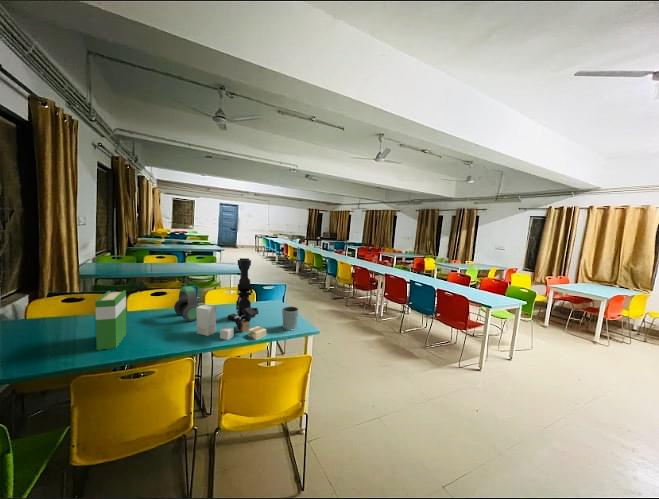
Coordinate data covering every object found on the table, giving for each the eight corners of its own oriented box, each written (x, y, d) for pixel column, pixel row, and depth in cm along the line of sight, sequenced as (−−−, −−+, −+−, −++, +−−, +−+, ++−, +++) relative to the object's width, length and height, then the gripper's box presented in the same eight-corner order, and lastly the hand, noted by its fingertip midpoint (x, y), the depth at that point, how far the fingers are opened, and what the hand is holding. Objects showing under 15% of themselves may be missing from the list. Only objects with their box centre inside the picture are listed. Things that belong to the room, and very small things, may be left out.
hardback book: (109, 335, 142) (108, 290, 140) (126, 333, 145) (125, 290, 143) (96, 350, 126) (95, 301, 124) (116, 348, 129) (115, 300, 127)
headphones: (202, 319, 170) (203, 289, 168) (184, 324, 162) (184, 291, 160) (190, 311, 183) (190, 283, 181) (172, 315, 175) (172, 285, 173)
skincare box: (216, 332, 154) (216, 306, 152) (207, 336, 148) (208, 309, 146) (204, 329, 157) (205, 303, 155) (195, 333, 151) (196, 306, 149)
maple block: (248, 336, 153) (248, 329, 152) (258, 332, 158) (258, 325, 158) (255, 340, 148) (256, 333, 148) (266, 336, 154) (266, 329, 154)
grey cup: (294, 331, 162) (295, 312, 161) (278, 329, 164) (279, 310, 163) (299, 325, 172) (300, 307, 171) (284, 323, 174) (285, 305, 173)
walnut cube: (236, 330, 159) (237, 322, 158) (243, 327, 163) (243, 319, 162) (242, 332, 156) (242, 324, 156) (249, 329, 160) (249, 321, 160)
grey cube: (220, 338, 147) (220, 329, 147) (226, 334, 152) (226, 326, 151) (227, 340, 146) (227, 331, 145) (233, 336, 151) (233, 327, 150)
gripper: (240, 309, 146) (239, 337, 147) (265, 302, 161) (264, 327, 163) (227, 305, 152) (226, 331, 153) (252, 298, 167) (251, 322, 169)
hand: (243, 328), depth 159 cm, fingers closed on walnut cube, 5 cm apart
